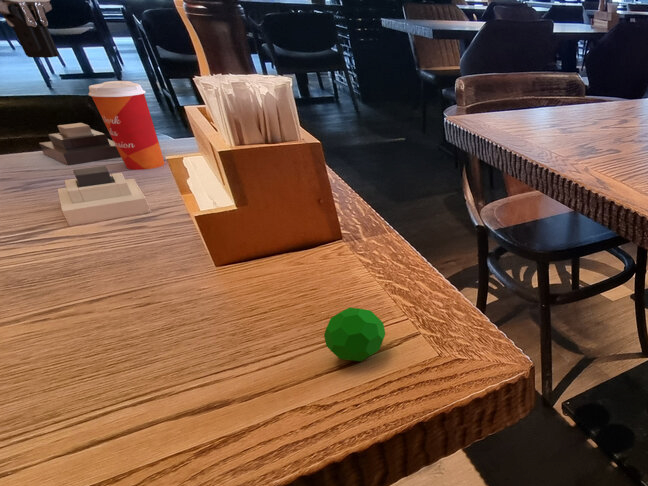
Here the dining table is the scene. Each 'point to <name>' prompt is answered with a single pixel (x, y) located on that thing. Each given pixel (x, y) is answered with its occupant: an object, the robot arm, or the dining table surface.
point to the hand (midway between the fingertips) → (43, 56)
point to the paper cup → (129, 123)
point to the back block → (80, 148)
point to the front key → (92, 176)
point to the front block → (101, 200)
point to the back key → (74, 130)
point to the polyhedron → (354, 334)
